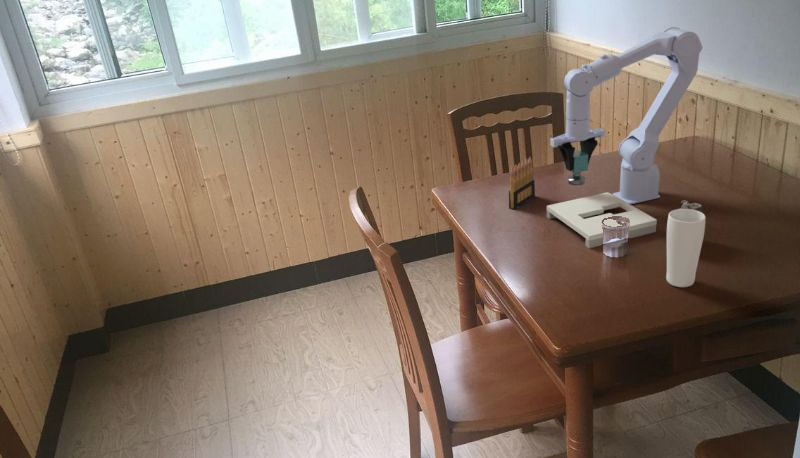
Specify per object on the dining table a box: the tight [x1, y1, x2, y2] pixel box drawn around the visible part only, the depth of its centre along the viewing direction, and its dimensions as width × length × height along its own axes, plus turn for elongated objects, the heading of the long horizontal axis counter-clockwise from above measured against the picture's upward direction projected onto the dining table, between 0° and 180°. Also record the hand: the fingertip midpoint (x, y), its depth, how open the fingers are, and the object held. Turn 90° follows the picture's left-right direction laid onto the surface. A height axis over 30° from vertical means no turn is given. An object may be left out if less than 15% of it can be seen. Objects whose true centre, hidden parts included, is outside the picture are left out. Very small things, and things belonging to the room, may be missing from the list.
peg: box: [567, 149, 589, 186], centre depth 162 cm, size 4×4×8 cm
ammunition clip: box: [508, 156, 536, 210], centre depth 168 cm, size 11×2×12 cm, turn 138°
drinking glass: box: [665, 208, 707, 288], centre depth 123 cm, size 7×7×15 cm
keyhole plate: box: [546, 191, 658, 249], centre depth 153 cm, size 18×20×3 cm
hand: (576, 168), depth 162 cm, fingers closed on peg, 4 cm apart
